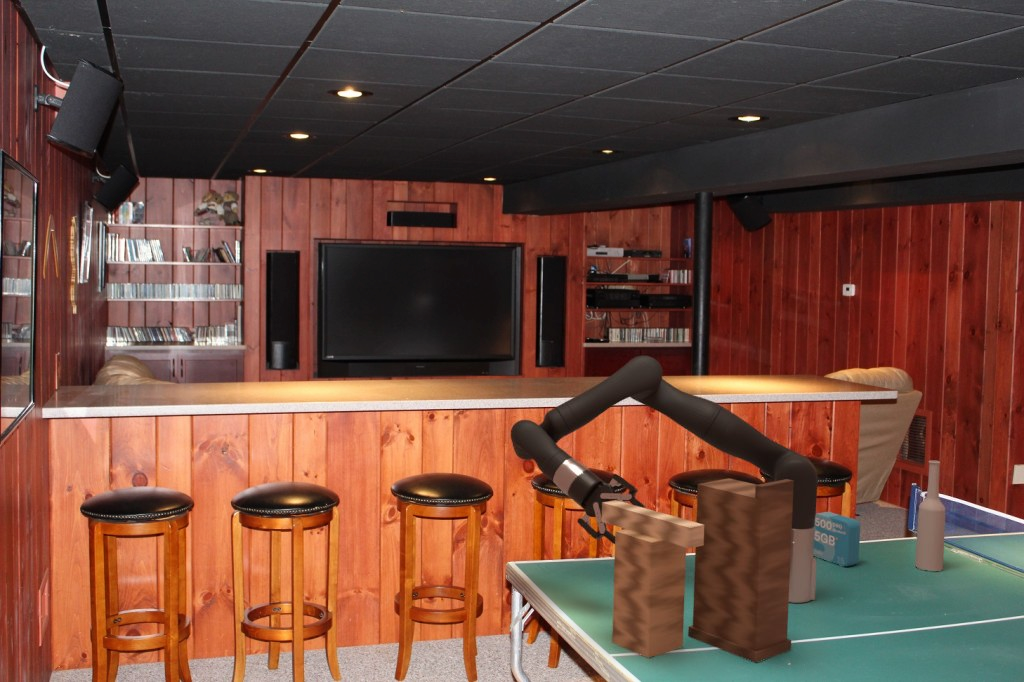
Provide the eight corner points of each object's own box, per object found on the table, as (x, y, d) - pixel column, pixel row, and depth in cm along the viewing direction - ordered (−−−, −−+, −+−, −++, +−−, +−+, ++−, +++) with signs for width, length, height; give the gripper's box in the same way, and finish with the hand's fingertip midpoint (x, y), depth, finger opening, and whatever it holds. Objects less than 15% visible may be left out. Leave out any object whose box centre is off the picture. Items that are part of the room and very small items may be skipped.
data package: (810, 556, 263) (812, 512, 262) (822, 554, 265) (824, 510, 264) (847, 568, 253) (849, 522, 252) (858, 566, 255) (861, 520, 254)
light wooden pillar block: (612, 642, 200) (615, 531, 198) (646, 631, 206) (649, 523, 204) (648, 658, 192) (651, 542, 190) (682, 646, 198) (686, 534, 196)
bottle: (912, 568, 254) (918, 461, 251) (918, 562, 259) (923, 457, 257) (939, 573, 250) (945, 465, 248) (945, 567, 255) (951, 461, 253)
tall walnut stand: (688, 635, 204) (693, 471, 201) (723, 624, 211) (729, 465, 208) (755, 663, 191) (762, 487, 188) (790, 649, 198) (798, 480, 195)
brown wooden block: (601, 521, 205) (602, 502, 205) (615, 518, 208) (615, 500, 207) (689, 548, 187) (690, 527, 186) (703, 545, 189) (704, 524, 189)
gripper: (552, 504, 217) (607, 550, 209) (592, 453, 218) (648, 498, 210) (563, 510, 224) (616, 555, 216) (602, 461, 224) (656, 504, 216)
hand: (632, 527), depth 213 cm, fingers open, 8 cm apart
